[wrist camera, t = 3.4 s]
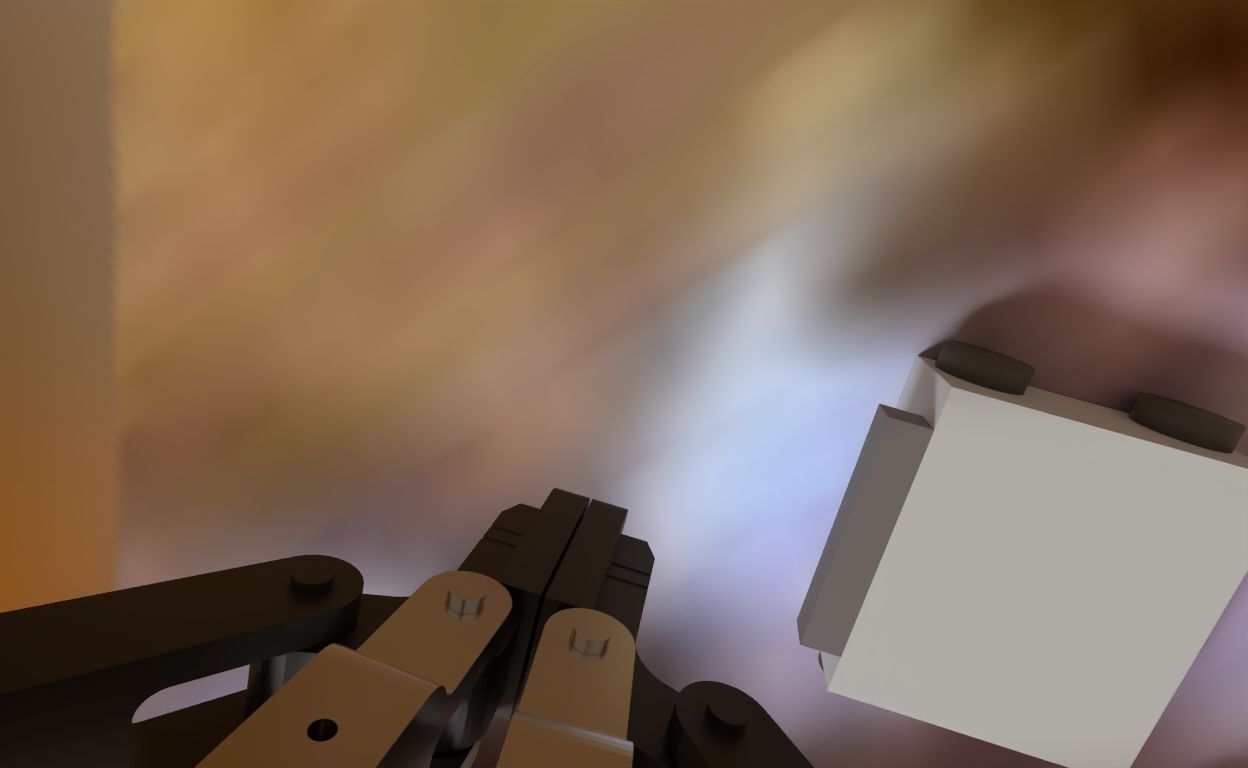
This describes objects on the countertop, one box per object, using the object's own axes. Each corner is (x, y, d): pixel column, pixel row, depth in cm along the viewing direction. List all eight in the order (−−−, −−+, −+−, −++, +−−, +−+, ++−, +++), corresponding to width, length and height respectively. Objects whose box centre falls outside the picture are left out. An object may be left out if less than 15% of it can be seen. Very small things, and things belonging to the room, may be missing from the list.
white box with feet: (886, 321, 17) (915, 347, 14) (1216, 411, 17) (1315, 456, 14) (774, 625, 20) (779, 697, 17) (1053, 712, 19) (1108, 803, 16)
